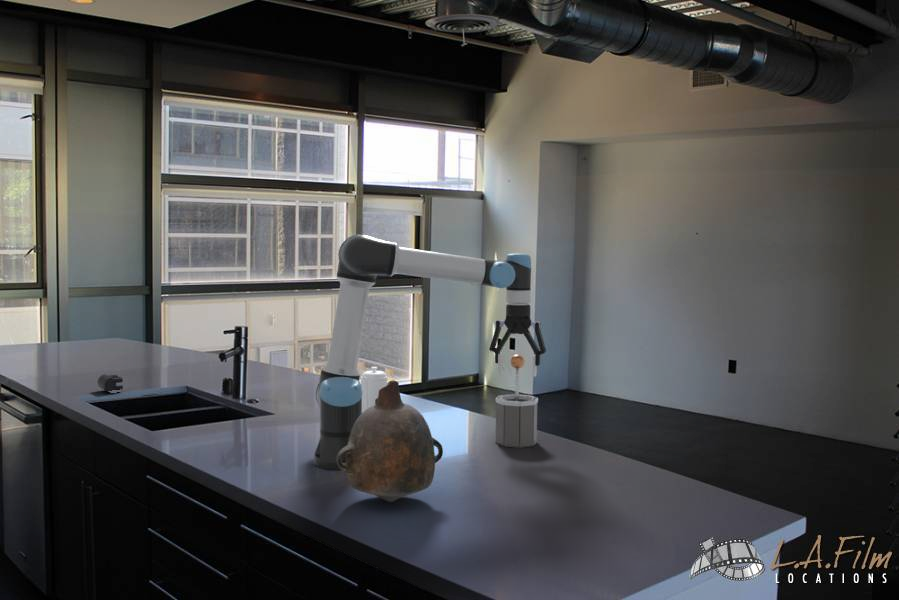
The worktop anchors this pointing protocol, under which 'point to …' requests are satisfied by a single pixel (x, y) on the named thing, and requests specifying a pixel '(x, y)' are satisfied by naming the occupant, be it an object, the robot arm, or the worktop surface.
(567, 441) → the worktop surface
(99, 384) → the end cap
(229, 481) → the worktop surface
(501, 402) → the grey octagonal tube
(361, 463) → the jug
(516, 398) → the copper ball knob
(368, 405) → the coffeepot
